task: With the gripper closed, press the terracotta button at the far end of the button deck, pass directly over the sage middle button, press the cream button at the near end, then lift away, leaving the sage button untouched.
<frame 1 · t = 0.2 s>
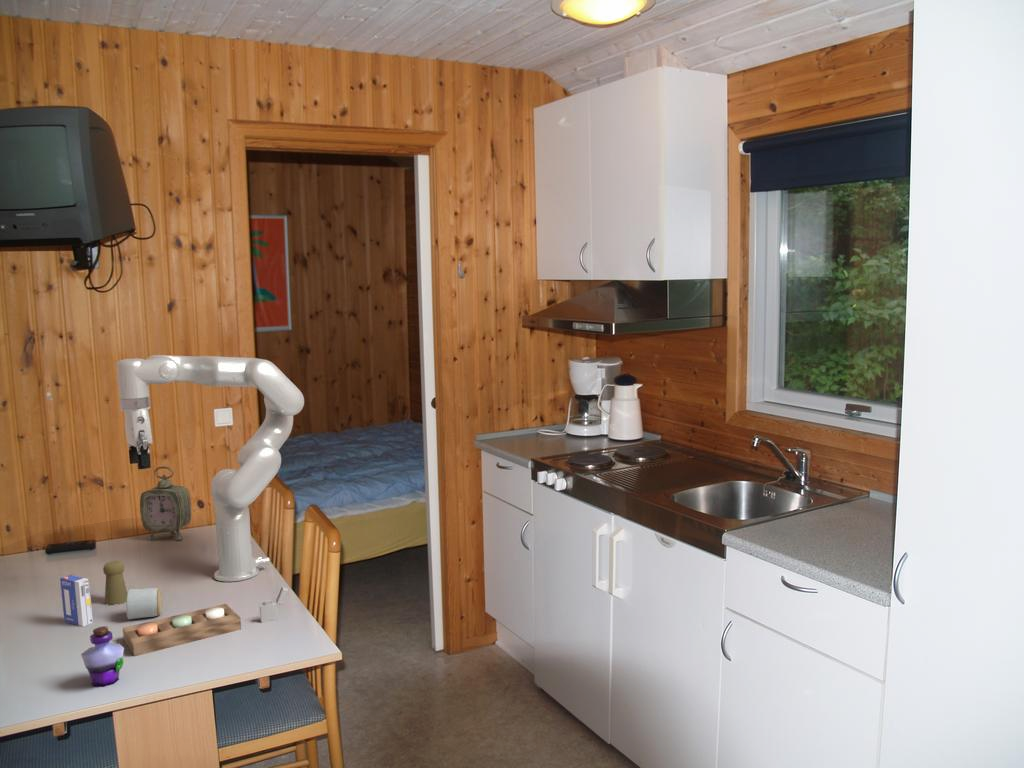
hand: (140, 465, 242), 37 cm above the table, tool pointing down, fingers open, 9 cm apart
ceramic mug: (145, 615, 231), on the table
potion bottle: (105, 682, 193), on the table
tabletop clock: (169, 538, 301), on the table
lighter: (275, 619, 225), on the table
terracotta button: (147, 631, 212), point 3 cm above the table, slide at 0.0 cm
cork: (116, 601, 242), on the table
button deck: (183, 634, 217), on the table
walkman: (78, 622, 228), on the table
sage button: (182, 623, 217), point 3 cm above the table, slide at 0.0 cm
cream button: (215, 615, 221), point 3 cm above the table, slide at 0.0 cm
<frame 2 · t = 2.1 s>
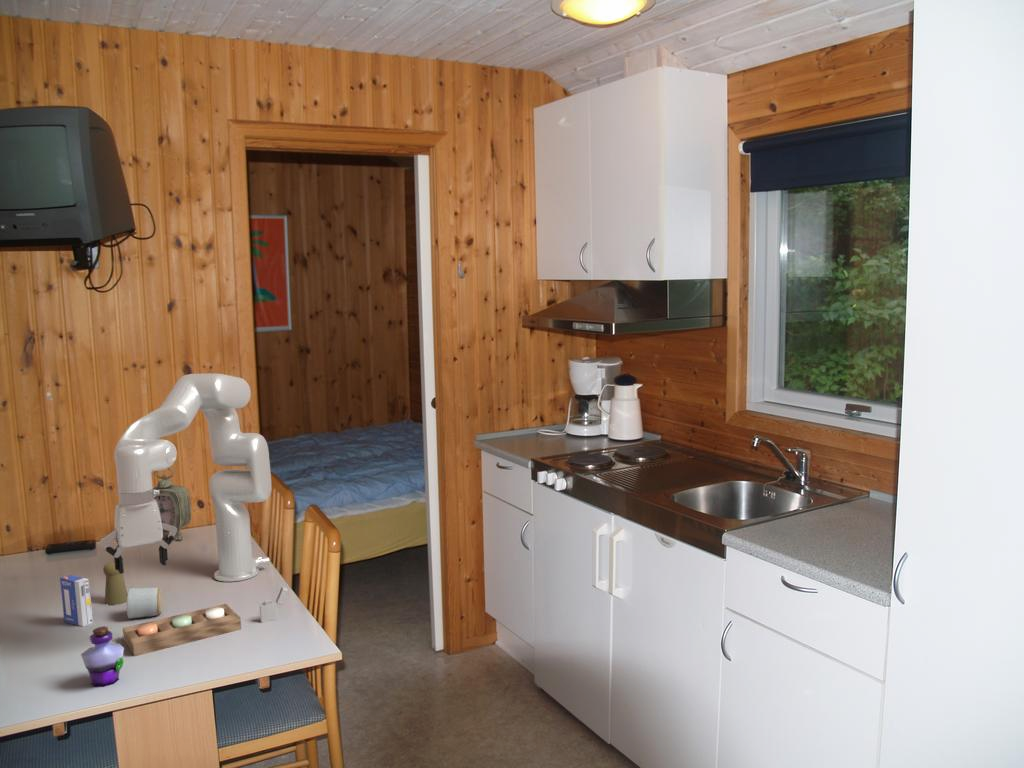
hand: (142, 568, 211), 19 cm above the table, tool pointing down, fingers open, 9 cm apart
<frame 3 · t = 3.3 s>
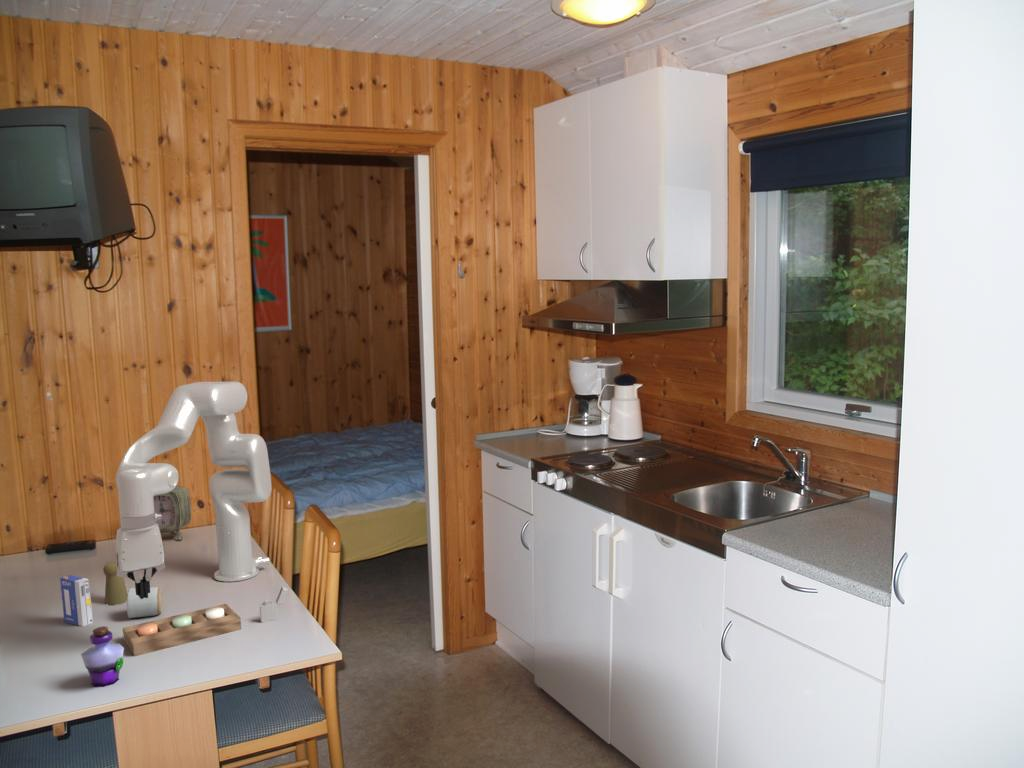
hand: (143, 596, 211), 12 cm above the table, tool pointing down, fingers closed
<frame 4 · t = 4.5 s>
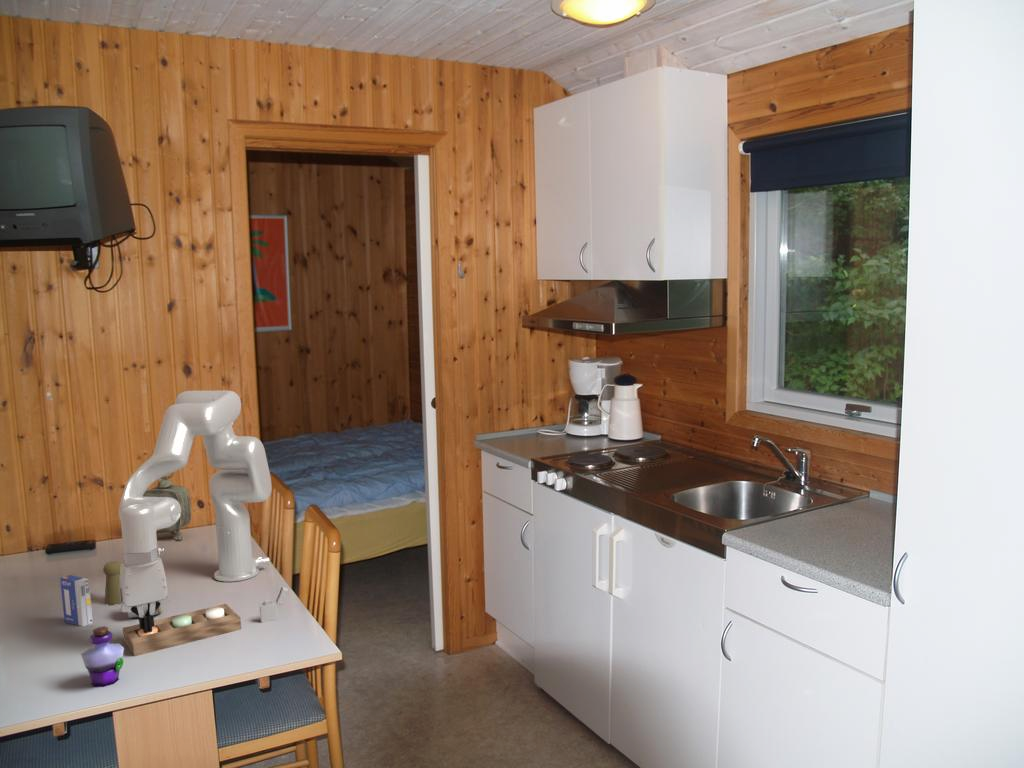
hand: (147, 630, 212), 3 cm above the table, tool pointing down, fingers closed
terracotta button: (148, 635, 213), point 2 cm above the table, slide at 0.9 cm, touching gripper
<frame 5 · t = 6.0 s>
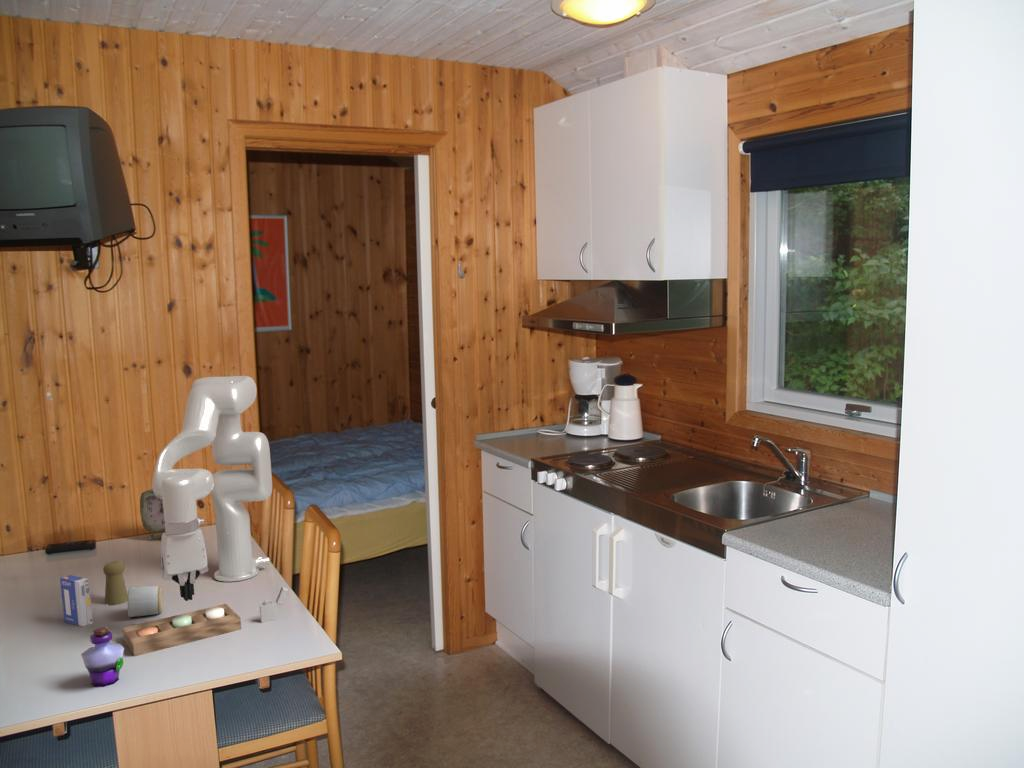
hand: (187, 598, 217), 9 cm above the table, tool pointing down, fingers closed
terracotta button: (148, 635, 213), point 2 cm above the table, slide at 1.0 cm
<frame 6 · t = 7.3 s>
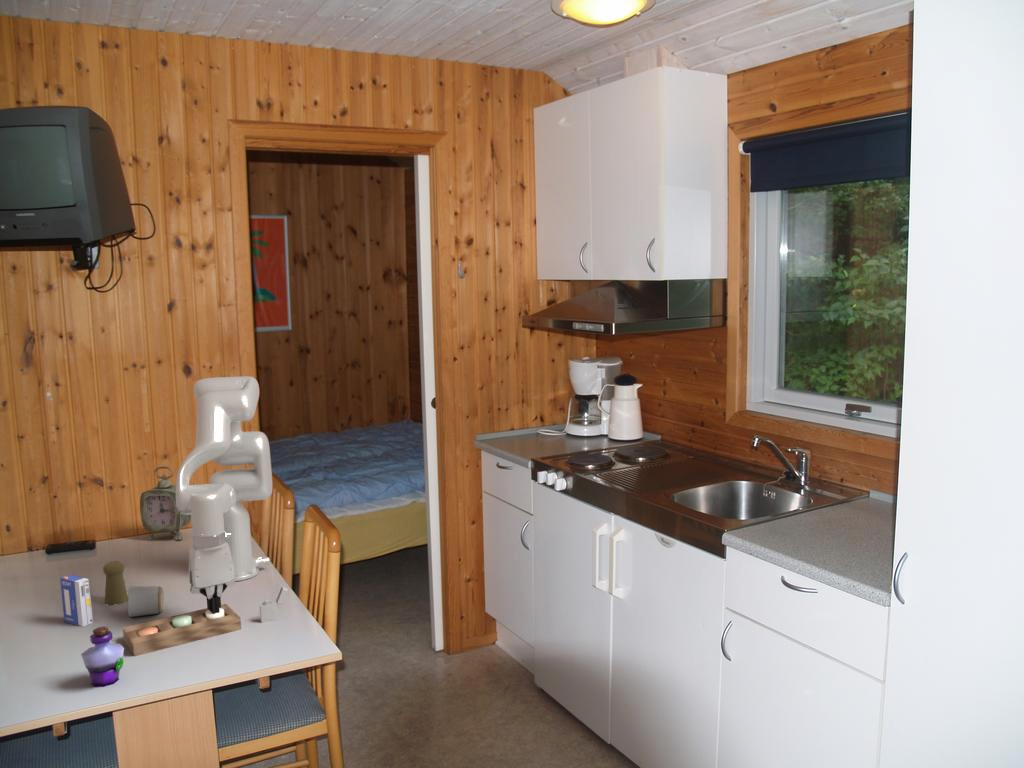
hand: (214, 611, 221), 4 cm above the table, tool pointing down, fingers closed
cream button: (215, 615, 221), point 3 cm above the table, slide at 0.1 cm, touching gripper
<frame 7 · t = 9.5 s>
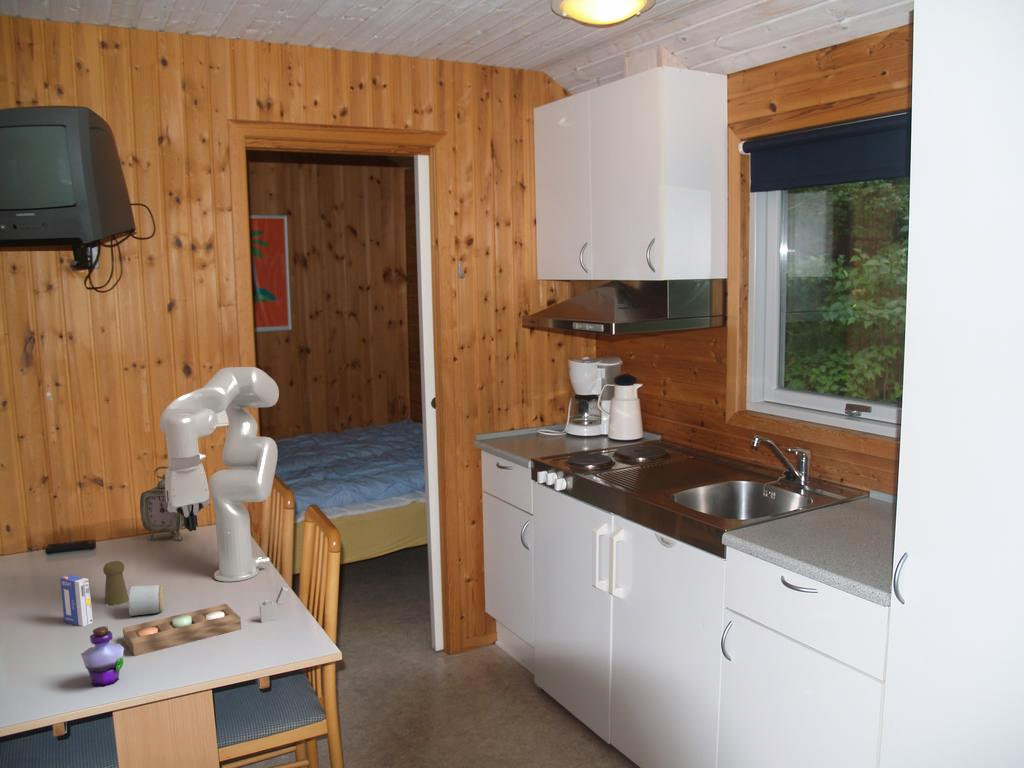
hand: (191, 529, 232), 22 cm above the table, tool pointing down, fingers closed
cream button: (215, 619, 222), point 2 cm above the table, slide at 1.0 cm
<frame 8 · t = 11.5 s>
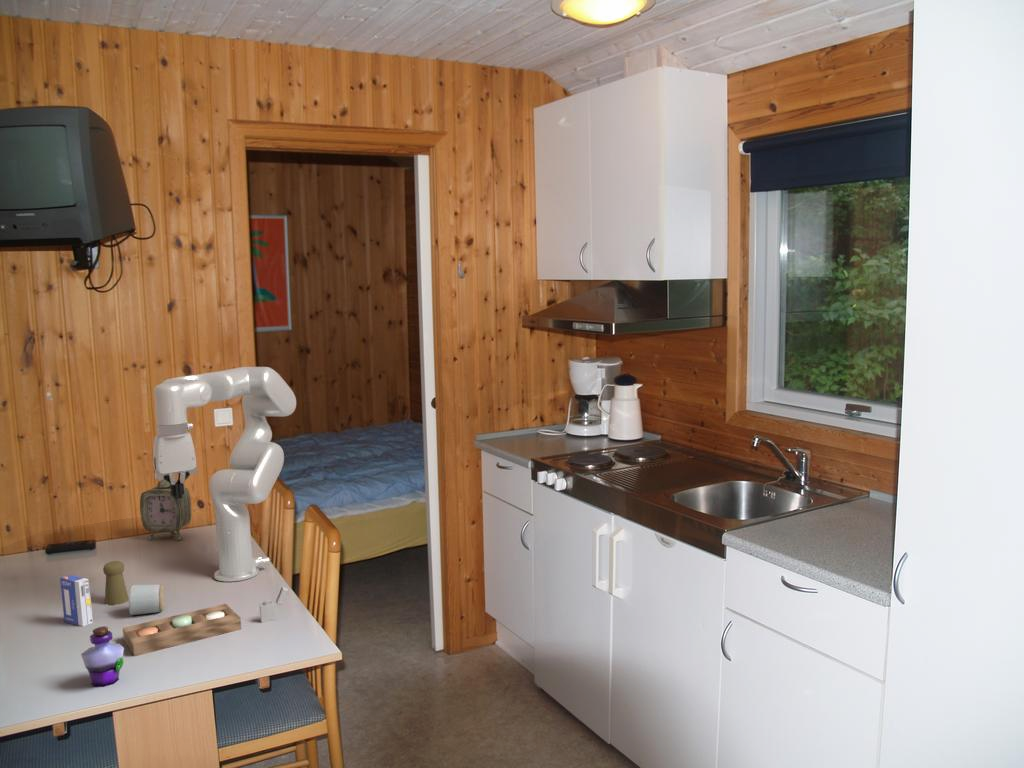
hand: (178, 497, 235), 29 cm above the table, tool pointing down, fingers closed
at the end: terracotta button slide at 1.0 cm; cream button slide at 1.0 cm; sage button slide at 0.0 cm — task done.
